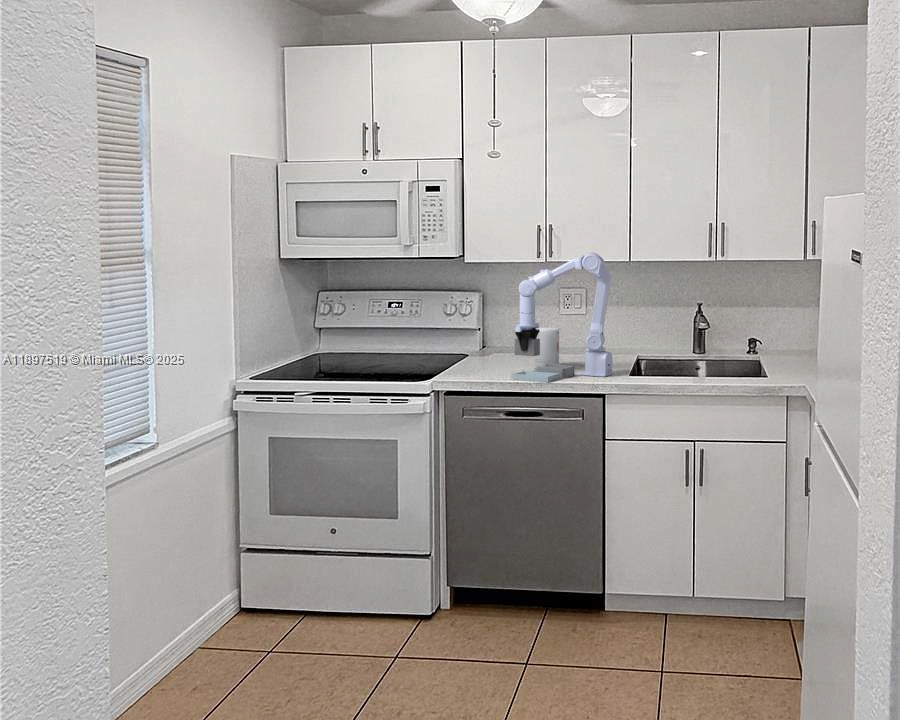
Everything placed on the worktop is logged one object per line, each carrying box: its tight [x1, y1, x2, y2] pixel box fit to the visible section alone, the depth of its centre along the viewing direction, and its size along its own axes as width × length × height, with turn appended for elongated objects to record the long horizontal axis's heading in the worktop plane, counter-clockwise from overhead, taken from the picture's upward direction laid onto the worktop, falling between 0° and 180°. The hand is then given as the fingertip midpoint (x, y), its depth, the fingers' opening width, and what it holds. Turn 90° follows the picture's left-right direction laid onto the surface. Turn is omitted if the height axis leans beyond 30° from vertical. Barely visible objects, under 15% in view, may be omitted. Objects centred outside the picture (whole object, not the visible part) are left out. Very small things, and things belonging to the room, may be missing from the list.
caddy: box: [514, 337, 540, 357], centre depth 422 cm, size 8×4×7 cm, turn 58°
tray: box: [510, 370, 561, 383], centre depth 409 cm, size 15×9×2 cm, turn 57°
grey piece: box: [533, 327, 560, 370], centre depth 437 cm, size 9×9×15 cm
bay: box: [535, 364, 575, 379], centre depth 417 cm, size 11×8×4 cm
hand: (527, 349), depth 422 cm, fingers closed on caddy, 4 cm apart
